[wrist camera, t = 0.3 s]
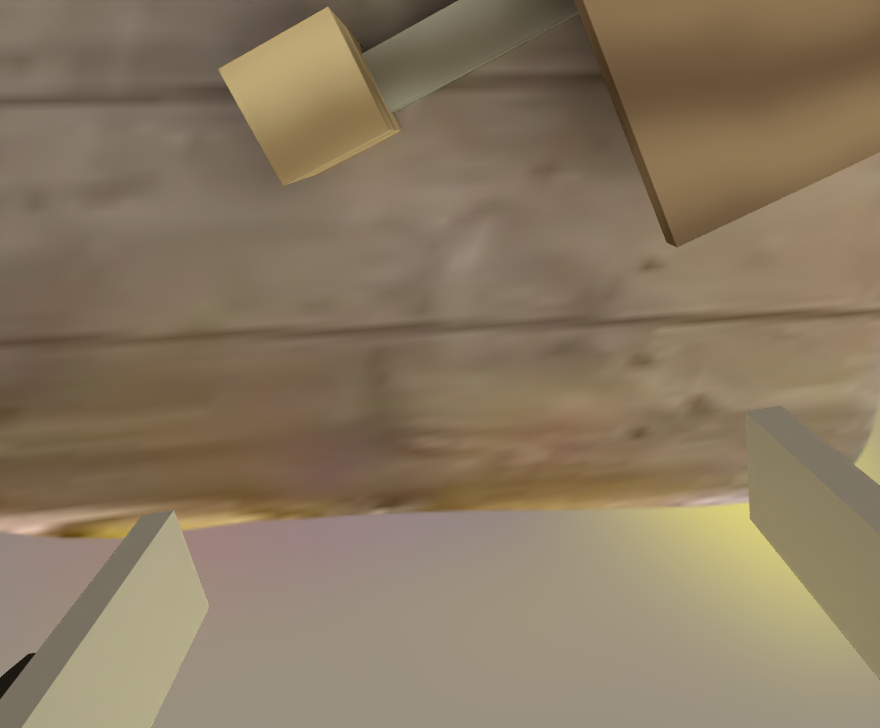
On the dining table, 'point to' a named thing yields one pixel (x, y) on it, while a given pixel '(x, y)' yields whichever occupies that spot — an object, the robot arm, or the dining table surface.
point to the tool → (367, 77)
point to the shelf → (737, 98)
